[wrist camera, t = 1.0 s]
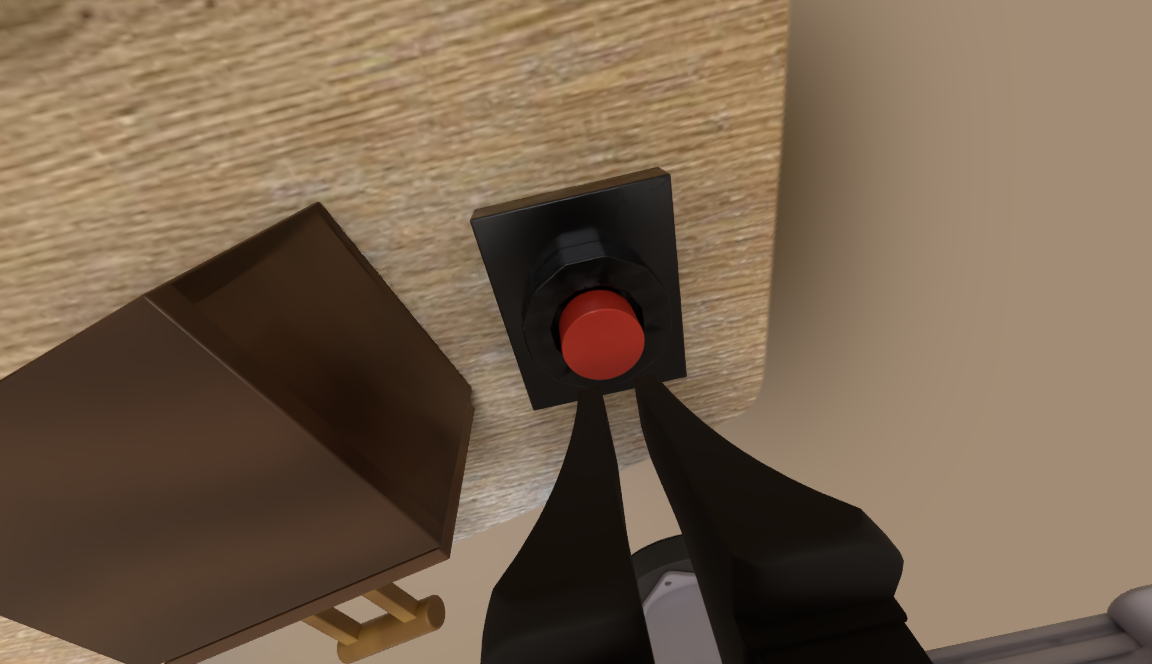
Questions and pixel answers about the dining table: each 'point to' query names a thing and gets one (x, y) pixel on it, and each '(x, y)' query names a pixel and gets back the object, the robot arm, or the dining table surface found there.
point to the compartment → (224, 449)
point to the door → (377, 633)
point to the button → (600, 335)
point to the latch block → (585, 275)
